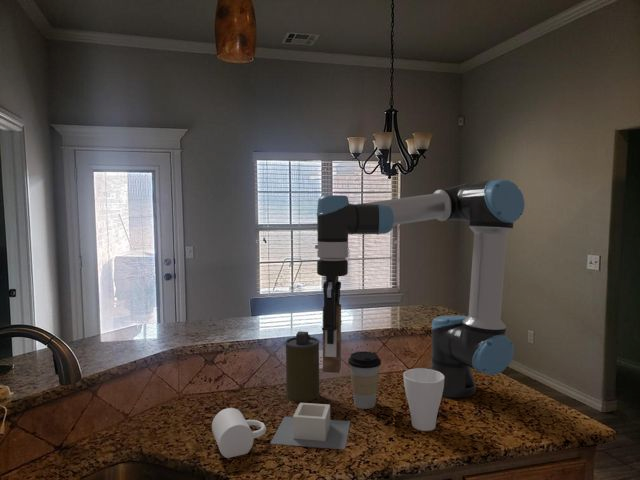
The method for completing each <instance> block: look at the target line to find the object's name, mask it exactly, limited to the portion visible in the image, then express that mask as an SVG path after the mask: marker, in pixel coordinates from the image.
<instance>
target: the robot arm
mask: <svg viewBox="0 0 640 480" xmlns="http://www.w3.org/2000/svg"><path fill="white" fill-rule="evenodd" d="M316 210H317V211H316V218H317V219H316V220H317V221H316V222H317V224H316V226H317V230H316V231H317V235H316V236H317V238H316V239H317V240H316V241H317V244H316V245H314V249H316V250H317V251H316V252H317V258H319V259H317V262H316V274H317V275H318V276H320V277H321V276H322V277H326V279H325V281H324V282H323V287H322V288H323V291H322V292H323V306H324V327H323V326H322V327H321V330H322V331H323V330H325V357H336V350H337V330H336V304H340V298H341V288H342V282H341V281H340V280H339V277H344V276H348V274H349V261H348V260H347V258H348V257H349V235H377V236H378V235H383V234H384V235H385V234H388V233H390V232H391V231H392V229H393V228H394V226H397V225H405V224H411V223H417V222H418V223H419V222H424V221H430V220H437V221H440V222H445V221H463V222H464V221H465V222H469V225H468V226H469V229H470V230H471V231H472V232H473V247H472V261H471V274H470V290H469V291H470V292H469V303H468V316H467V315H453V314H452V315H442V316H436V317H434V318H433V319H432V322H431V330H430V331H431V364H430V367H429V369H432V370H435V371H438V372H440V373H442V374H443V375H444V377H445V379H444V389H443V393H442V397H444V398H449V399H450V398H452V399H462V398H463V399H464V398H469V397H472V396H473V395H475V394H476V392H477V390H476V389H477V387H476V386H477V383H476V380H475V378H474V375H473V371H472V369H473V370H475V371H476V372H477V373H478V372H479V373H482V374H485V375H488V376H495V375H499V374H501V373H502V372H504V371H505V370H506V368H508V367H509V366H510V364H511V362H512V360H513V357H514V354H515V353H514V352H515V348H514V347H515V346H514V343H513V342H512V340H511V339H510V338H509V337H508V336H507V335H506V333H507V326H506V324H505V323H504V322H503V320H501V317H502V316H501V315H502V306H503V305H502V304H503V291H504V278H505V277H504V276H505V275H504V274H505V265H506V264H505V263H506V249H507V236H508V234H509V233H510V232H512V231H513V229H514V222H516V221H518V220H519V219H520V218H521V216H522V215H523V213H524V211H525V198H524V195H523V192H522V190H521V189H520V188H519V187H518V185H517V184H516V183H514V182H513V181H511V180H509V179H490V180H484V181H483V180H482V181H474V182H467V183H462V184H459V185H455V186H451V187H447V188H442V189H437V190H435V191H434V192H433V193H431V194H430V193H429V194H423V195H421V194H420V195H415V196H414V195H413V196H408V197H400V198H392V199H386V200H385V199H383V200H377V201H370V202H362V203H356V204H355V203H354V204H353V203H350V201H349V197H348V196H347V195H339V194H338V195H337V194H334V195H333V194H331V195H328V194H327V195H321V196H319V198H318V200H317V209H316ZM342 322H343V321H342V320H341V323H342Z"/></svg>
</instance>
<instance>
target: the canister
mask: <svg viewBox="0 0 640 480" xmlns="http://www.w3.org/2000/svg"><path fill="white" fill-rule="evenodd" d="M295 335H296V336H294V337H290V338H287V339H285V342H284V344H285V380H286V381H285V382H286V383H285V384H286V385H285V386H286V388H285V389H286V391H285V392H286V394H285V396H286V398H287V399H288V400H290V401H293V402H300V403H308V402H311V401H314V400H317V399H320V397H321V393H320V345H319V344H320V339H318V338H316V337H313V336H310V334H309V331H297V333H296V334H295Z"/></svg>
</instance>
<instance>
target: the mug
mask: <svg viewBox="0 0 640 480" xmlns="http://www.w3.org/2000/svg"><path fill="white" fill-rule="evenodd" d="M252 426H256V427H259V429H257V430H254V431H253V430H252V429H251V428H250V427H252ZM211 430H212V431H211V432H212V434H213V436H214V439H215V441H216V442H215V443H216V444H217V447H218V450H219V452H220V454H221V455H222V456H223V457H224V458H226V459H231V458H233V457H238V456H242V455H246V454H247V455H248V453H249V452H250V451H251V449H252V447H253V445H254V440H255V439H256V438H260V437H261V436H263V435H264V434H266V432H267V431H266V430H267V426H266V424H265V423H264V422H262V421H260V420H256V419H245V417H244V415H243V413H242V412H241V411H240V410H239V409H237V408H234V407H227V408H224V409H222V410H219V412H218V413H217V414H216V415H215V416H214V417H213V420H212V423H211Z"/></svg>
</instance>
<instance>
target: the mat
mask: <svg viewBox="0 0 640 480" xmlns="http://www.w3.org/2000/svg"><path fill="white" fill-rule="evenodd" d="M350 426H351V420H339V419H338V420H337V419H330V428H329V431H328V434H327V438H326V441H318V440H305V439H293V416H284V417H283V418H282V420H281V422H280V424H279V425H278V428H277V429H276V432H275V434H274V435H273V437H272V439H271V441H270V442H269V444H272V445H283V446H285V445H286V446H295V447H296V446H297V447H309V448H318V449H320V448H321V449H322V448H323V449H333V450H346V444H347V440H348V435H349V430H350Z"/></svg>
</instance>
